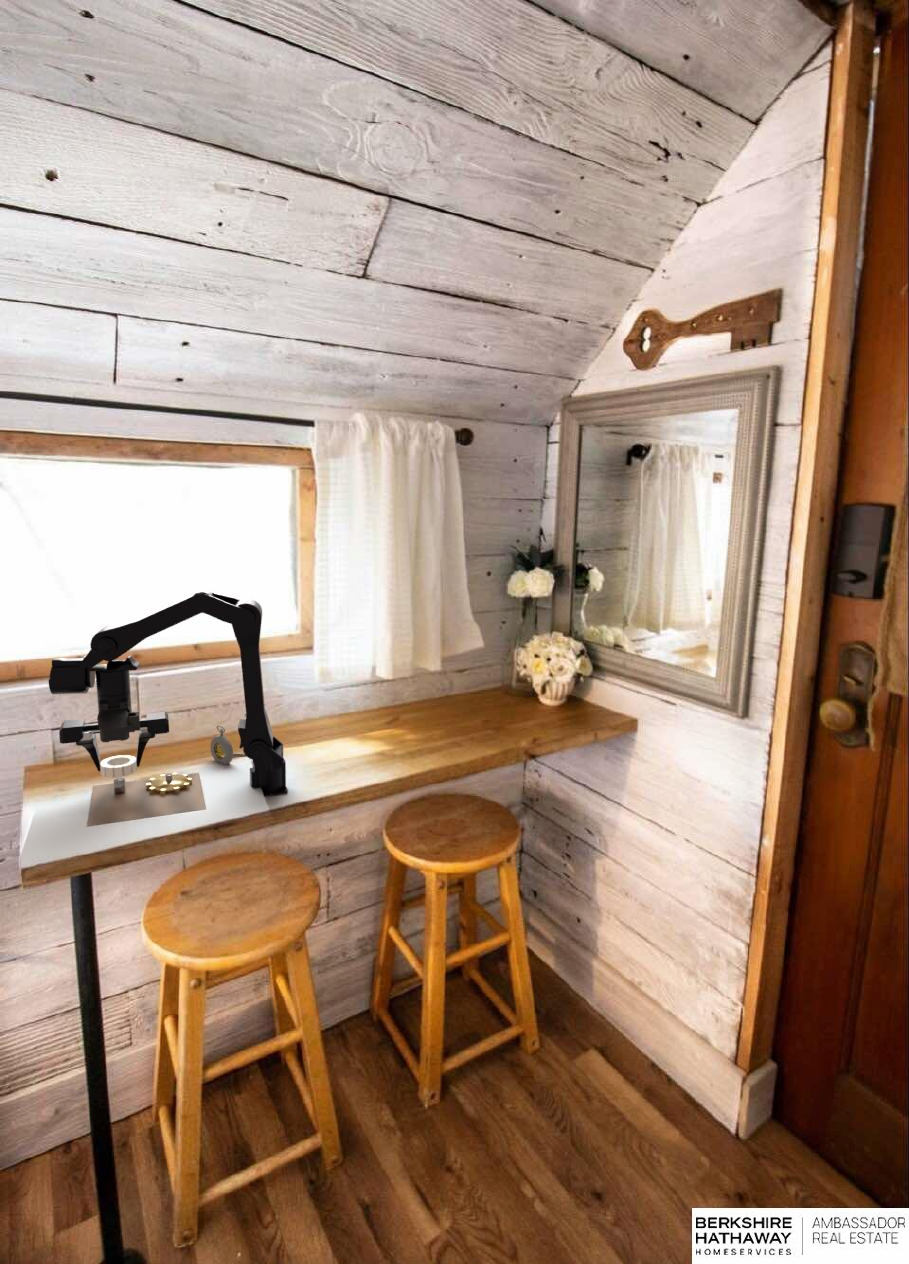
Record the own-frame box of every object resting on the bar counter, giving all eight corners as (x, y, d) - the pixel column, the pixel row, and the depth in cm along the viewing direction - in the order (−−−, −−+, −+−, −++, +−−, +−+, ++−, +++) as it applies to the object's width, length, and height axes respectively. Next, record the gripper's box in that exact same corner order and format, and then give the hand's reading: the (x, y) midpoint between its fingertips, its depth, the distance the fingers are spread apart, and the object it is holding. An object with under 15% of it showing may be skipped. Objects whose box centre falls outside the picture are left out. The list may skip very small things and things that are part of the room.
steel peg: (125, 789, 136) (125, 777, 135) (125, 793, 134) (124, 781, 133) (114, 791, 135) (113, 778, 134) (114, 795, 133) (113, 782, 132)
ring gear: (137, 762, 138) (136, 753, 137) (137, 774, 132) (136, 765, 131) (101, 766, 135) (101, 757, 134) (100, 779, 129) (99, 769, 129)
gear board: (199, 779, 145) (199, 772, 145) (206, 816, 129) (206, 808, 129) (93, 792, 137) (93, 785, 137) (87, 834, 121) (86, 826, 121)
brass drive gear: (190, 775, 143) (190, 764, 143) (193, 791, 136) (192, 780, 136) (146, 780, 140) (145, 770, 139) (146, 797, 132) (145, 786, 132)
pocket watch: (253, 757, 158) (252, 716, 156) (243, 772, 149) (242, 729, 147) (217, 757, 157) (216, 715, 155) (205, 771, 149) (204, 728, 147)
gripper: (52, 709, 119) (59, 792, 122) (168, 699, 127) (172, 778, 130) (59, 691, 129) (66, 768, 132) (166, 683, 137) (170, 756, 140)
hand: (119, 768), depth 133 cm, fingers closed on ring gear, 6 cm apart
